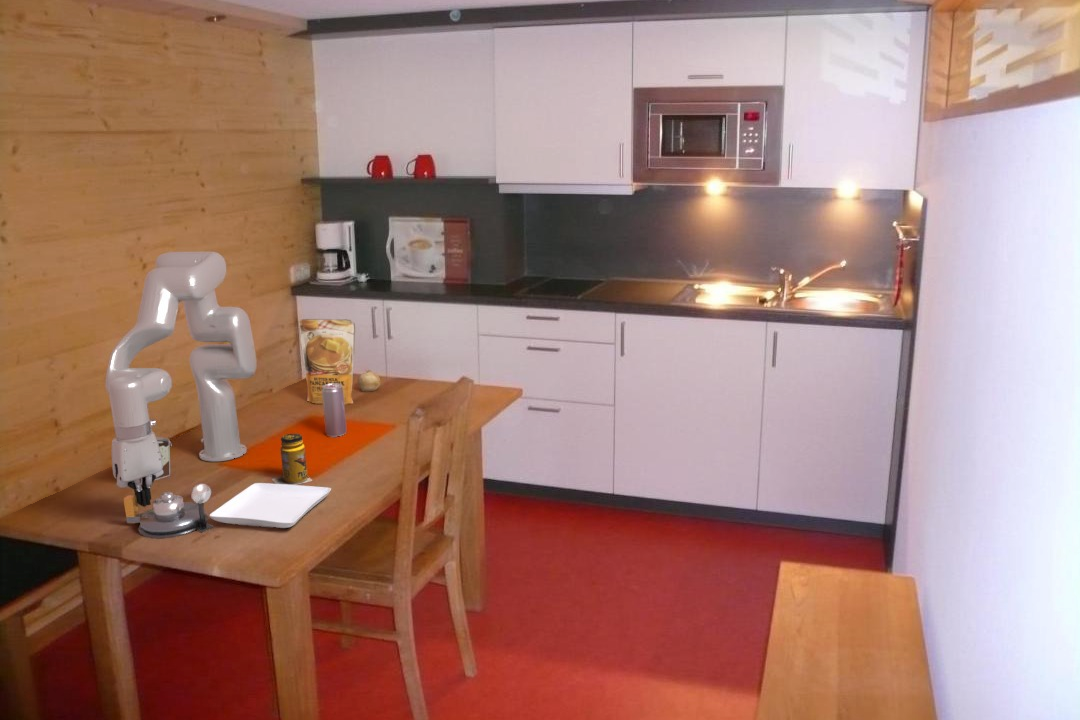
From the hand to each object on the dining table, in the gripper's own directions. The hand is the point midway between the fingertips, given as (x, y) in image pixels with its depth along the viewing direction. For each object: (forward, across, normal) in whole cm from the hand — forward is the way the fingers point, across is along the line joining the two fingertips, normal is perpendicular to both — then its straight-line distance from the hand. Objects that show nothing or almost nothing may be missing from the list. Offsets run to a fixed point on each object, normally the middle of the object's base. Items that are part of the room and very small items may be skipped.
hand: (144, 504), depth 214 cm
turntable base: (+4, -2, +9) cm, 10 cm away
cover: (+1, -1, +10) cm, 10 cm away
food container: (+4, -13, -25) cm, 29 cm away
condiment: (+4, -35, +8) cm, 36 cm away
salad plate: (+4, -20, +22) cm, 30 cm away
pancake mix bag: (+5, -85, -42) cm, 95 cm away
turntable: (+3, -1, +7) cm, 8 cm away
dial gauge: (+4, -5, +17) cm, 18 cm away
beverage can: (+4, -65, -13) cm, 67 cm away
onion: (+5, -102, -43) cm, 111 cm away
